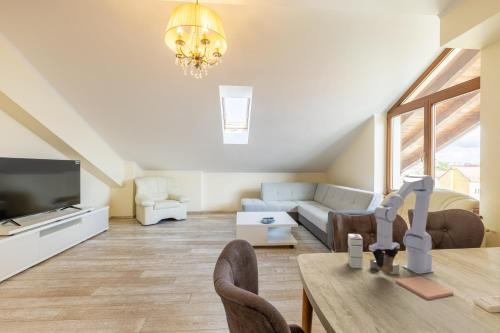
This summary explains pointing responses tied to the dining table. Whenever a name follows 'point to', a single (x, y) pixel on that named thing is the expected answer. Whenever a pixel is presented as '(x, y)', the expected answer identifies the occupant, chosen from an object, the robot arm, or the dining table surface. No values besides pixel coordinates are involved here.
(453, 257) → the dining table surface
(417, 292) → the terracotta tile
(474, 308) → the dining table surface
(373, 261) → the grey metal cylinder
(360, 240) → the syrup box
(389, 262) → the walnut block
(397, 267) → the sage painted cube
